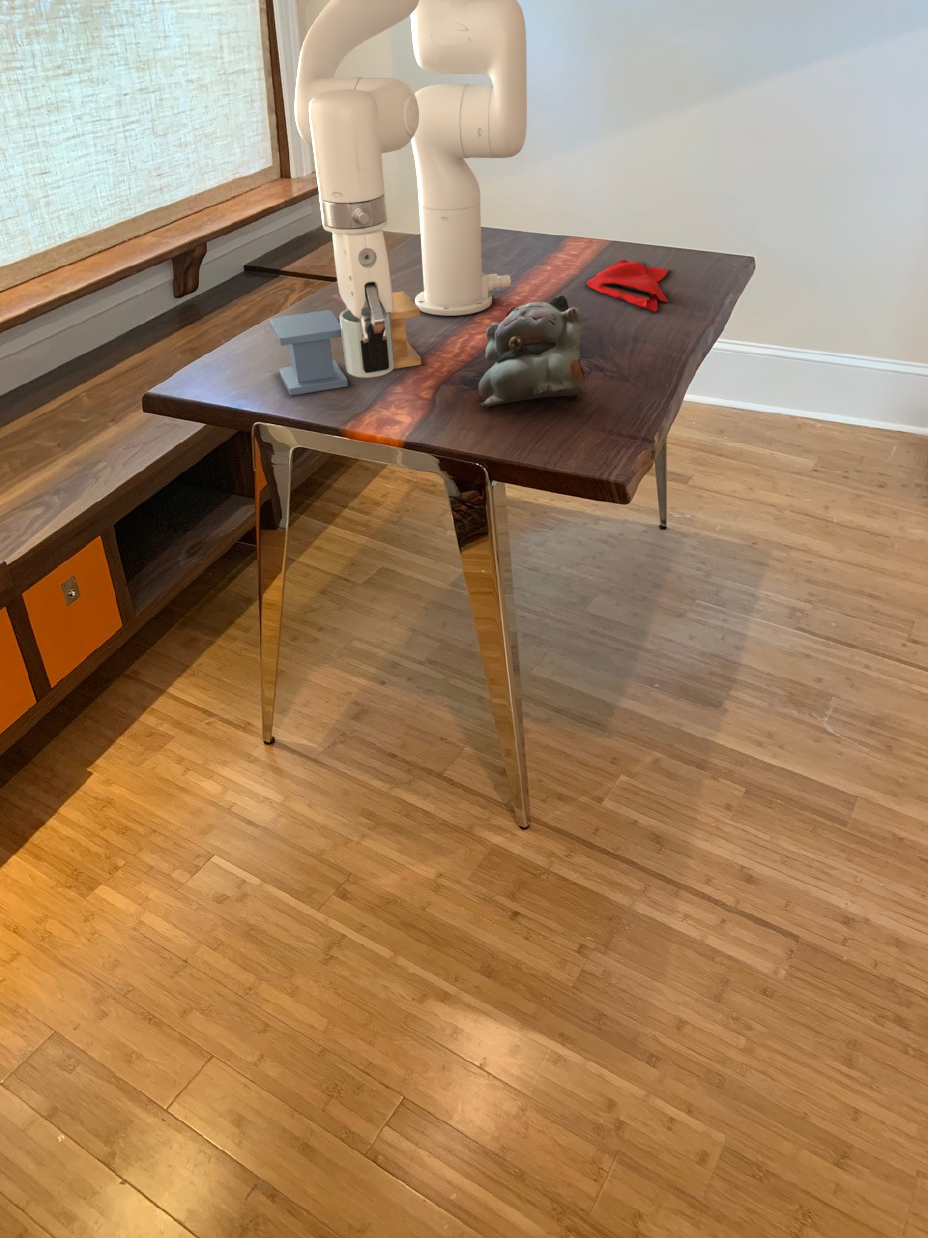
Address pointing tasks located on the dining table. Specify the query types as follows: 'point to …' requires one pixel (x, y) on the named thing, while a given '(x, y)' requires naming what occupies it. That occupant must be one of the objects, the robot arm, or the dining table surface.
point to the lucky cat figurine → (534, 354)
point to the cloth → (631, 283)
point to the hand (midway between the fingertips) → (369, 358)
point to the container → (353, 344)
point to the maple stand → (403, 331)
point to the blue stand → (309, 351)
